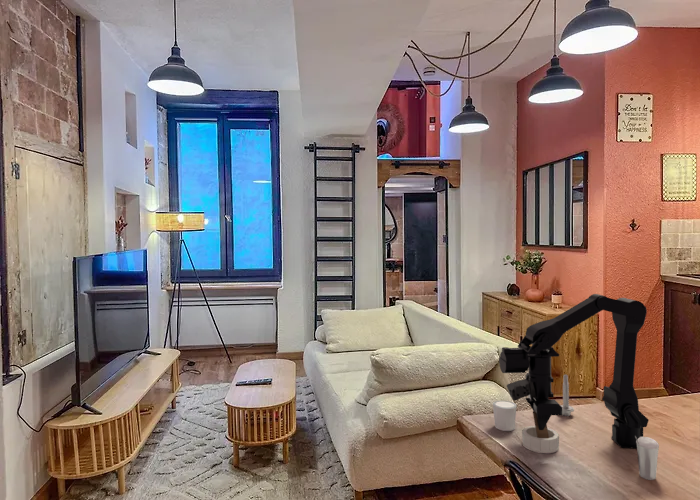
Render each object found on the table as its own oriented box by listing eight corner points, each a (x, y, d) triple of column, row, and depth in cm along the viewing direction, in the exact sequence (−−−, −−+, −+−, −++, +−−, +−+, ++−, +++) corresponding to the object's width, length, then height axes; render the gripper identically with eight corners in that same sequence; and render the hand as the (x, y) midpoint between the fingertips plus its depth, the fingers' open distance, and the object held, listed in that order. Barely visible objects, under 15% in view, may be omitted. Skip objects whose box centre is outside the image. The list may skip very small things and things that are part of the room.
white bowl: (552, 438, 133) (552, 426, 133) (563, 454, 124) (563, 440, 124) (518, 437, 134) (518, 425, 134) (527, 452, 125) (526, 439, 125)
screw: (577, 415, 150) (569, 418, 147) (562, 410, 154) (554, 414, 151) (577, 374, 149) (568, 377, 147) (562, 371, 153) (554, 374, 150)
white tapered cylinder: (518, 432, 138) (518, 409, 138) (494, 431, 139) (493, 407, 139) (515, 423, 145) (515, 400, 144) (491, 421, 146) (491, 399, 146)
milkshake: (628, 472, 114) (628, 431, 114) (649, 471, 114) (649, 430, 114) (641, 482, 109) (641, 440, 109) (663, 481, 110) (663, 438, 110)
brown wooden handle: (536, 440, 131) (530, 410, 131) (548, 439, 130) (542, 408, 130) (539, 445, 128) (533, 414, 128) (551, 444, 127) (546, 413, 127)
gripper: (502, 362, 139) (502, 414, 139) (517, 382, 120) (517, 442, 121) (541, 362, 137) (542, 415, 138) (562, 383, 119) (563, 444, 119)
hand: (540, 428), depth 129 cm, fingers closed on brown wooden handle
